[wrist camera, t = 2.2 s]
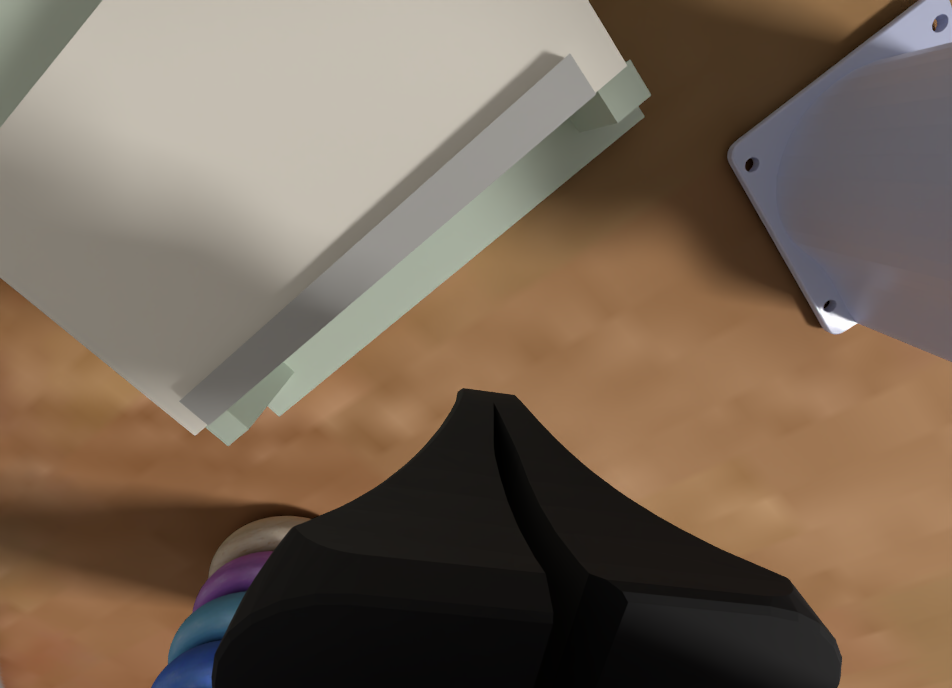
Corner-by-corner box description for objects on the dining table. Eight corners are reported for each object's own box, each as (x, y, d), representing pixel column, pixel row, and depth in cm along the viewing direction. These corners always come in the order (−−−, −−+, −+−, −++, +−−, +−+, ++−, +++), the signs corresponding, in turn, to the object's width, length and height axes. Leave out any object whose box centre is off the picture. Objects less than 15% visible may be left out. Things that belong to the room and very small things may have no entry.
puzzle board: (630, 120, 17) (705, 101, 12) (290, 400, 21) (231, 482, 16) (279, -446, 12) (134, -921, 7) (-85, 60, 16) (-358, 10, 11)
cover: (616, 71, 11) (635, 61, 10) (208, 421, 14) (185, 445, 13) (387, -304, 9) (375, -376, 8) (-40, 214, 12) (-96, 220, 11)
